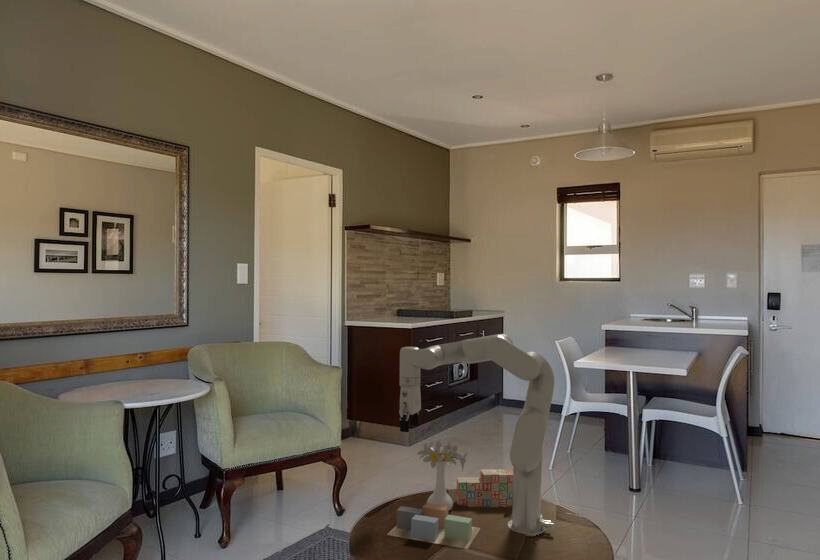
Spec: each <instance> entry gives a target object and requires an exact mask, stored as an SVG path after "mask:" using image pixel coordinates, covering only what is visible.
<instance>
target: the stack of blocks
mask: <svg viewBox="0 0 820 560" xmlns="http://www.w3.org/2000/svg"><path fill="white" fill-rule="evenodd" d="M479 472H480V473H479V474H480V475H479V477H478V476H477V477H476V476H475V477H474V476H473V477H472V476H469V477H467V476H463V477H461V476H459V477H456V504H457V506H463V507H468V508H503V507H502V506H512V495H513V469H501V468H500V469H499V468H498V469H480V470H479Z"/></svg>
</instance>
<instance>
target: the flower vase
mask: <svg viewBox="0 0 820 560" xmlns="http://www.w3.org/2000/svg"><path fill="white" fill-rule="evenodd" d="M433 444H434V443H433V442H430V443H429V444H428V443H427V442H425V443H424V444H423V450H421V449H420V450H419V451H418V452H417V455H419V459H422V458H423V459H422V461H423V462H424V463H429V462H430V467H431V468H432V469H436V472H435V473H436V477H435V487H434V491H433V492H432V493H431V495H430V496H429V497H428V498H427V501H426V503H430V504H437V505H443V506H449V511H450V510H451V509H452V508H453V506H454V504H453V503H454V502H453V499H452V498H451V496H450V495H449V493H448V492H447V490H446V483H445V482H446V481H445V480H446V479H445V473H446V464H447V466H448V467H449V468H450V467H452V466H451V465H452V464H453V465H457V461H458V460H459V463H460V465H461V471H462V472H463V471H464V466H465V464H466V462H467V455H468V453H469V450H467V451H466V452H465V453H464V454H463V455H462V454H460V453H459V452H457V451H458V446H457V445H456V444H454V445H453V446H452V445H451V443H450V442H447V445H446V444H445V445H443V446H442V444H441V441H439V440H437V441H436V442H435V447H433Z"/></svg>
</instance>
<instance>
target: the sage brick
mask: <svg viewBox="0 0 820 560" xmlns="http://www.w3.org/2000/svg"><path fill="white" fill-rule="evenodd" d="M472 527H473V518H472V517H465V516H460V515H452V514H449V515H448V516H447V517H446V518H445V534H444V538H449V539H454V540H460V541H466V542H469V540H470V539H471V537H472Z"/></svg>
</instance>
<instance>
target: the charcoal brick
mask: <svg viewBox="0 0 820 560" xmlns="http://www.w3.org/2000/svg"><path fill="white" fill-rule="evenodd" d="M415 515H422V516H423V508H418V507H417V508H416V507H411V506H404V505H401V506H399V507H398V508H397V509H396V525H397V528H399V529H405V530H411V519H412V518H413V517H414V516H415Z"/></svg>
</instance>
